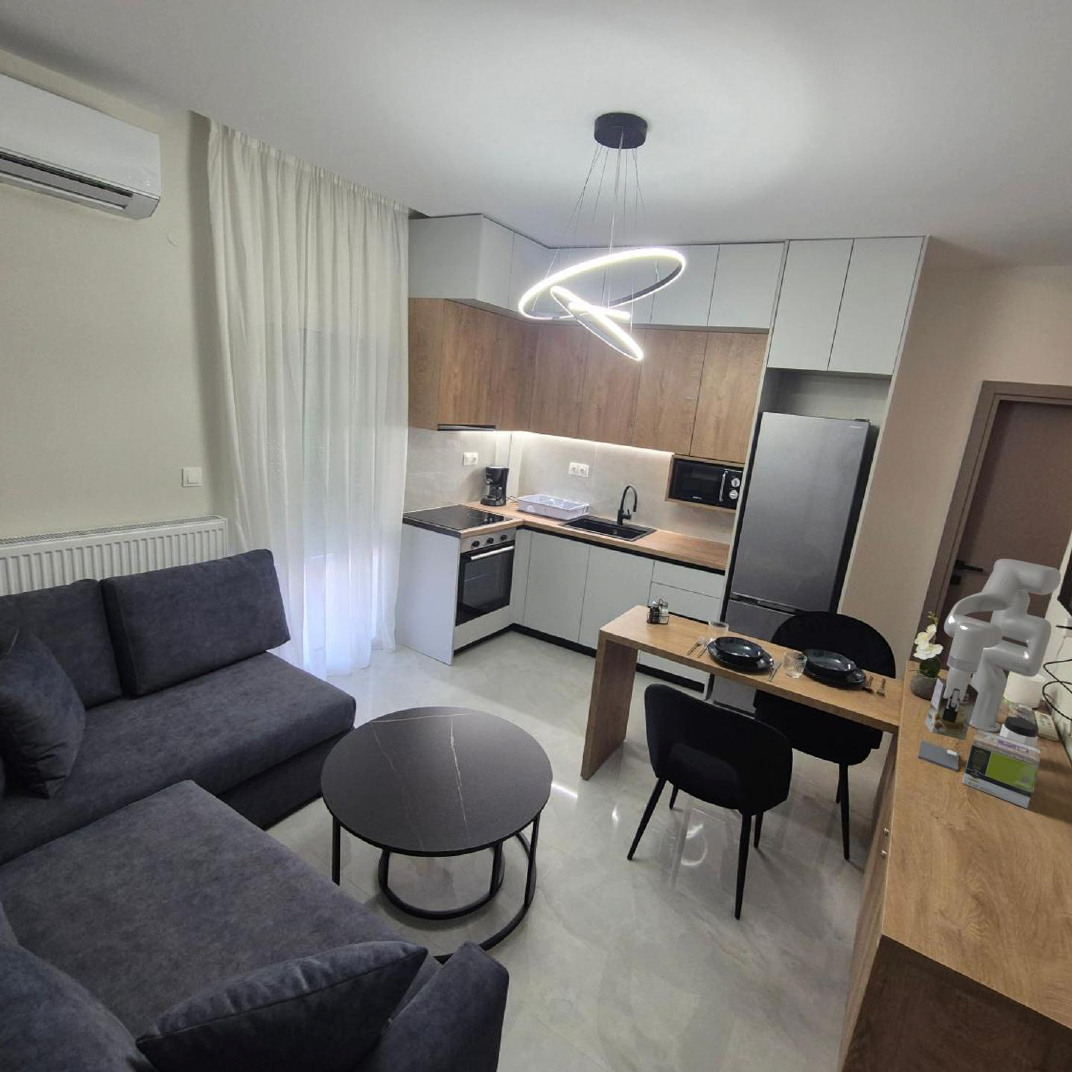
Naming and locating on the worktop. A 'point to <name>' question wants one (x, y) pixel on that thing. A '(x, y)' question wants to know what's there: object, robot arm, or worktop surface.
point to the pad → (939, 755)
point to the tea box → (1002, 767)
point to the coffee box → (963, 715)
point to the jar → (1020, 730)
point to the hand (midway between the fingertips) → (948, 715)
